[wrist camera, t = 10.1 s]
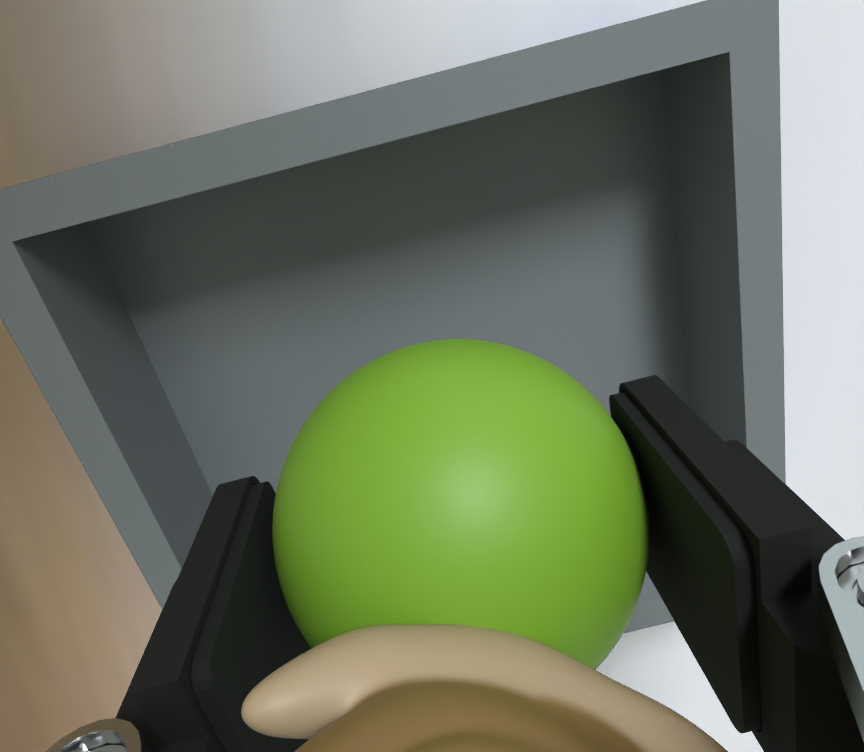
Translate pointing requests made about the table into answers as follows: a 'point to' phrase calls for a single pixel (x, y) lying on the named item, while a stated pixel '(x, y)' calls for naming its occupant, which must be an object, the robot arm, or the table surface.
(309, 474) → the snail figurine
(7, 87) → the table surface
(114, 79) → the table surface
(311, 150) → the bin
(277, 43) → the table surface
